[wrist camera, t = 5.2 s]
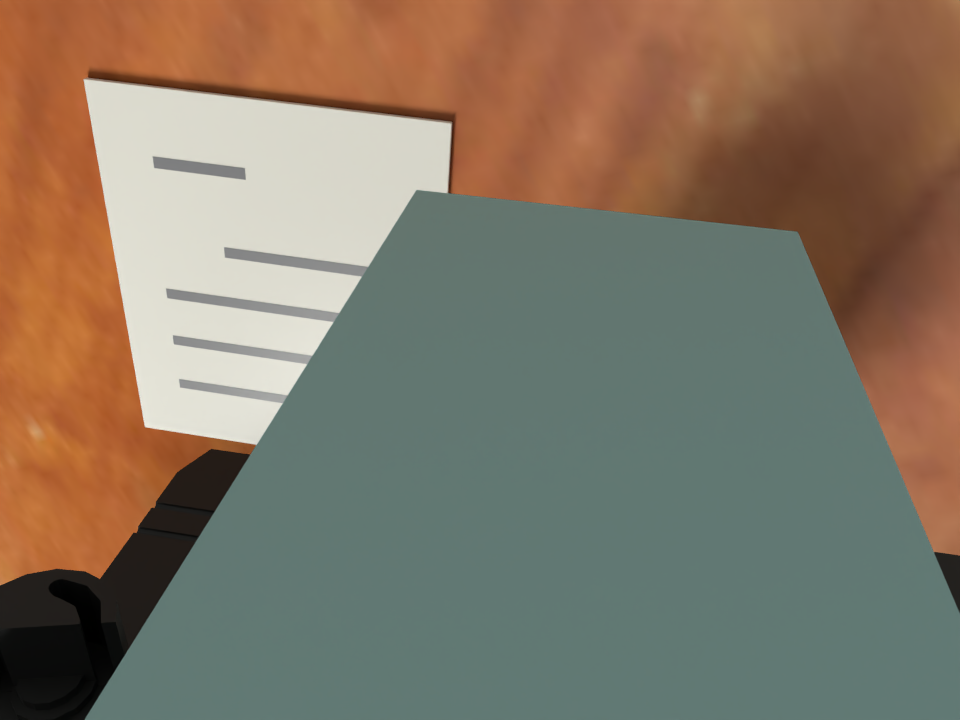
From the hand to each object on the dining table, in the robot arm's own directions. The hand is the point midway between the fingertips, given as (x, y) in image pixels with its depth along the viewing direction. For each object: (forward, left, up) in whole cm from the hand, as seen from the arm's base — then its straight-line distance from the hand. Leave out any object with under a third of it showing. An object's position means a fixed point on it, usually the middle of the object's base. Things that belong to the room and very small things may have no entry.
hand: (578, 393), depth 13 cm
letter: (+11, +7, -15) cm, 20 cm away
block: (0, 0, -1) cm, 1 cm away
